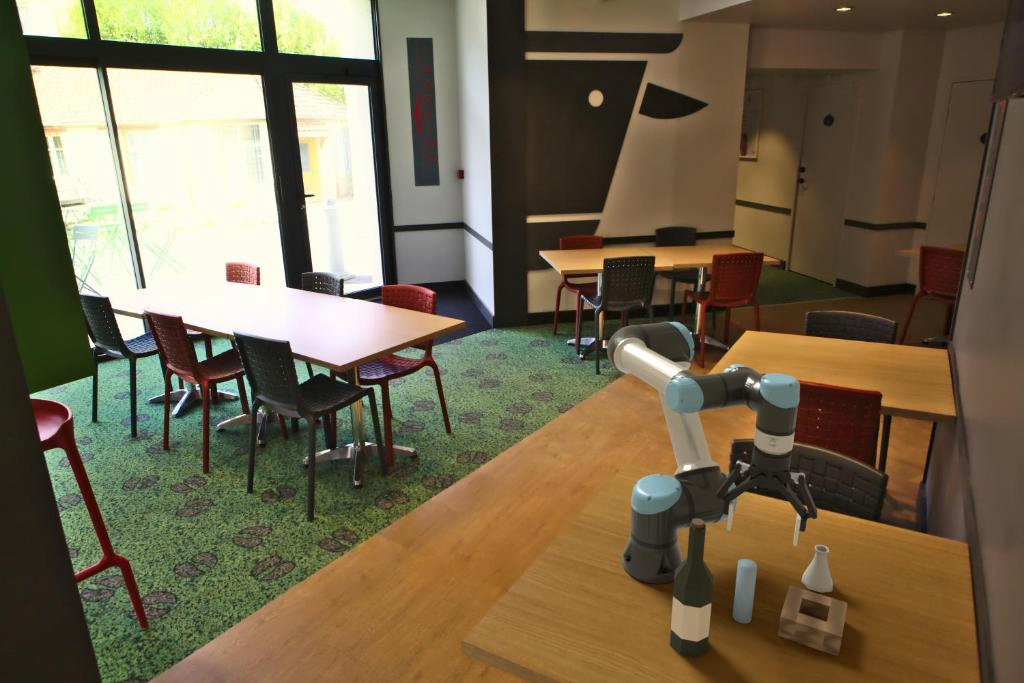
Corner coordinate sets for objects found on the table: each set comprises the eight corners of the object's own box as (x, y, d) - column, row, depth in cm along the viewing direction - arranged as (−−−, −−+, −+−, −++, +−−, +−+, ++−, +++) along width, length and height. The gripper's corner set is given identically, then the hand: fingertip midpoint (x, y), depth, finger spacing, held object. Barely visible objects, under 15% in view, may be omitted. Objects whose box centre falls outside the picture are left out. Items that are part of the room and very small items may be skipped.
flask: (837, 595, 153) (842, 559, 150) (804, 591, 154) (809, 556, 152) (829, 576, 160) (834, 541, 157) (798, 573, 161) (802, 538, 158)
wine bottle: (679, 624, 145) (687, 506, 136) (715, 641, 140) (726, 519, 131) (662, 645, 139) (669, 523, 130) (698, 664, 134) (709, 538, 125)
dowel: (730, 619, 146) (736, 566, 142) (735, 608, 149) (740, 556, 145) (749, 625, 144) (755, 572, 140) (753, 614, 147) (758, 562, 143)
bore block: (777, 635, 141) (780, 616, 139) (787, 603, 151) (789, 585, 149) (838, 656, 135) (841, 637, 133) (844, 621, 145) (847, 602, 143)
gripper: (708, 443, 137) (700, 530, 143) (839, 467, 126) (824, 559, 133) (713, 429, 143) (705, 512, 150) (838, 450, 133) (824, 539, 139)
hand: (761, 534), depth 141 cm, fingers open, 13 cm apart
